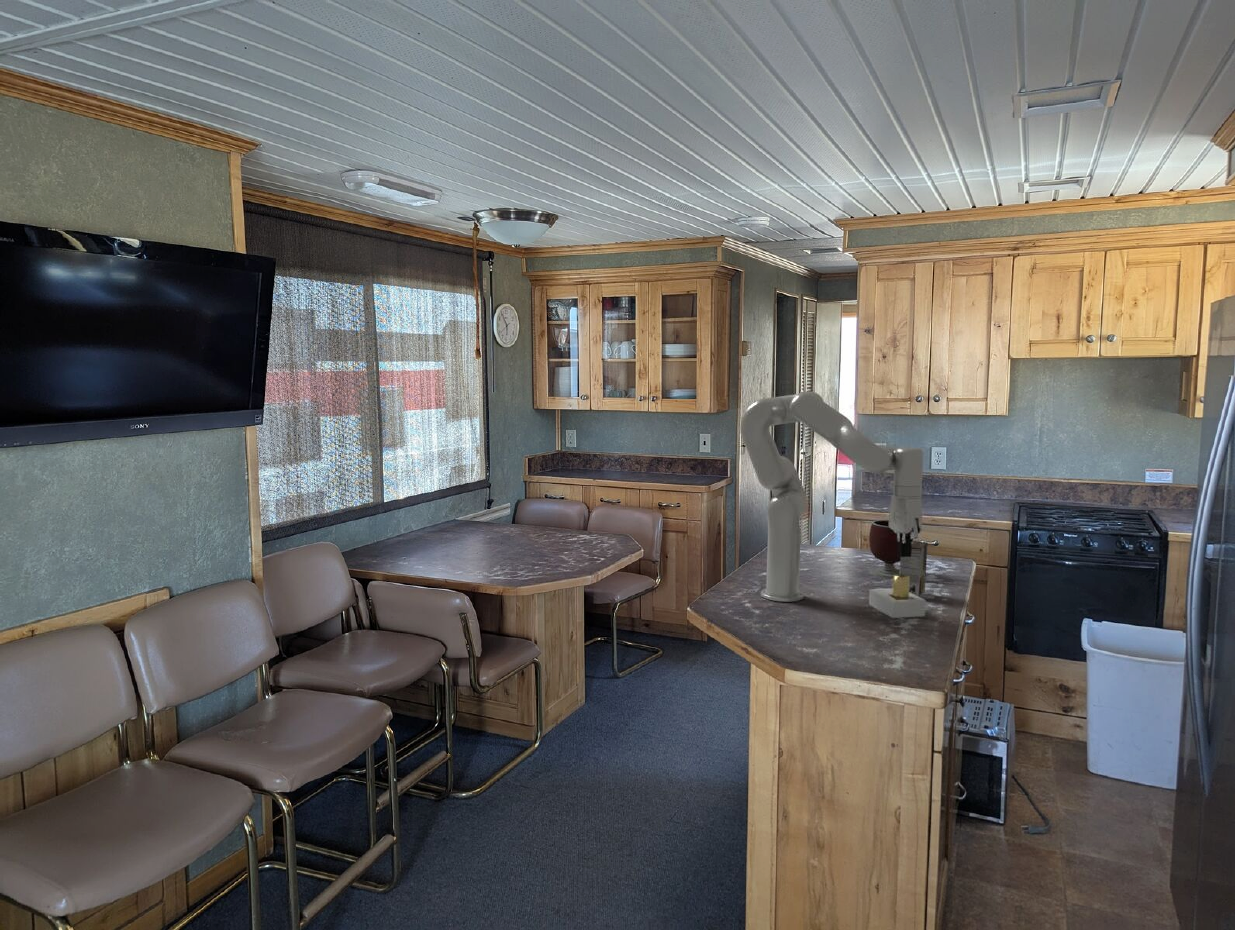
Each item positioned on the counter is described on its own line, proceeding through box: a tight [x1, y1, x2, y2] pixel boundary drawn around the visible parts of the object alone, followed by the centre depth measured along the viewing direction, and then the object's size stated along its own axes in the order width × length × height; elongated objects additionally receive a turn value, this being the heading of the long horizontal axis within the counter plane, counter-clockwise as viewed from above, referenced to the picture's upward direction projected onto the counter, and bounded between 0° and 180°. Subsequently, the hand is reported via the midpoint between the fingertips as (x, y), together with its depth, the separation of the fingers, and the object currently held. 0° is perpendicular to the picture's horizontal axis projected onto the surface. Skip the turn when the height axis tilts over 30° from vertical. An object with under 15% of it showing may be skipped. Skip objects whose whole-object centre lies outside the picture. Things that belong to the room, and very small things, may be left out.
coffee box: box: [899, 540, 928, 598], centre depth 252 cm, size 9×6×16 cm
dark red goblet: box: [868, 519, 900, 579], centre depth 278 cm, size 16×14×20 cm
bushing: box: [892, 574, 910, 600], centre depth 235 cm, size 4×4×9 cm
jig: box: [868, 587, 927, 619], centre depth 237 cm, size 13×10×4 cm
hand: (904, 556), depth 233 cm, fingers closed
